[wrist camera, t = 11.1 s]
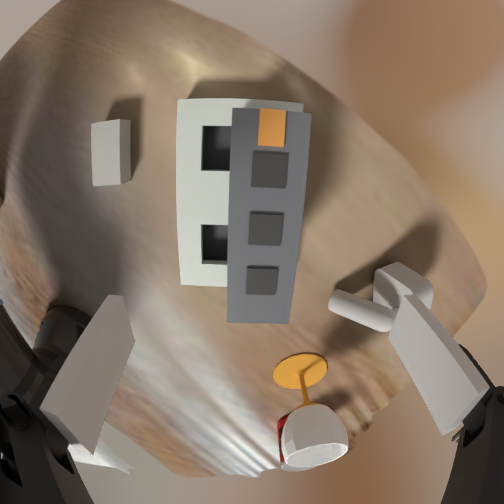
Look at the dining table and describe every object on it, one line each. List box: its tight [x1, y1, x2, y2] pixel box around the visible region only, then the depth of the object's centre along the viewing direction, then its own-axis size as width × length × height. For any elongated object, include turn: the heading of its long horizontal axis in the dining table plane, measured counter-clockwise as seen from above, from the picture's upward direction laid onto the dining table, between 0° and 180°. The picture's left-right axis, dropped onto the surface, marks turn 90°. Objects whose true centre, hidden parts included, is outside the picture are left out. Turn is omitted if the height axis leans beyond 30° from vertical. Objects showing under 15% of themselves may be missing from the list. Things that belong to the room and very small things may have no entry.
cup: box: [273, 353, 348, 467], centre depth 34 cm, size 9×9×16 cm
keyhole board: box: [176, 98, 304, 287], centre depth 28 cm, size 12×20×3 cm, turn 177°
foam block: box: [91, 119, 131, 186], centre depth 25 cm, size 4×7×3 cm, turn 177°
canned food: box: [277, 415, 318, 471], centre depth 43 cm, size 8×8×11 cm
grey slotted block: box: [227, 108, 312, 324], centre depth 24 cm, size 5×16×12 cm, turn 177°
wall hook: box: [328, 262, 434, 332], centre depth 31 cm, size 8×10×10 cm
